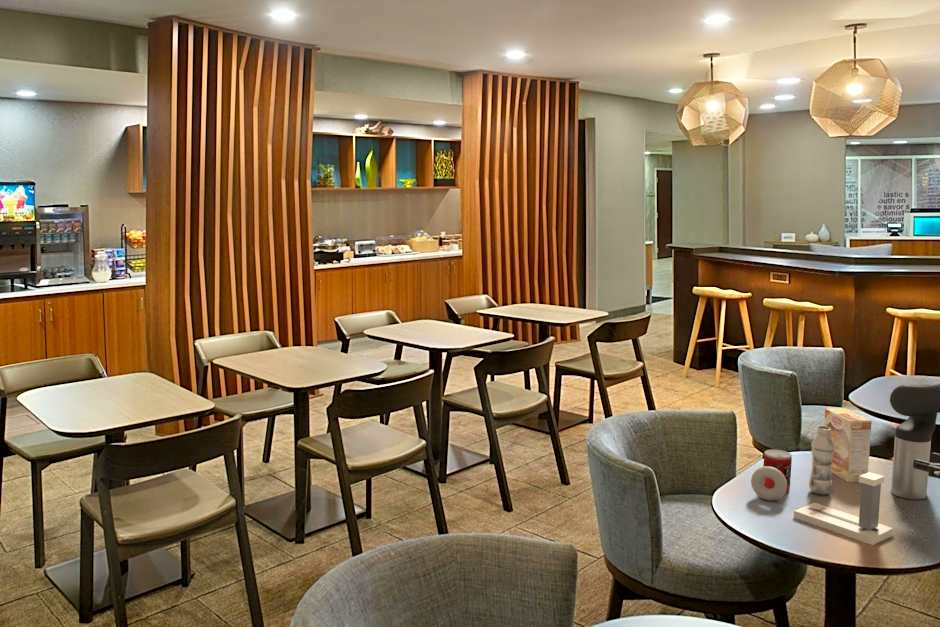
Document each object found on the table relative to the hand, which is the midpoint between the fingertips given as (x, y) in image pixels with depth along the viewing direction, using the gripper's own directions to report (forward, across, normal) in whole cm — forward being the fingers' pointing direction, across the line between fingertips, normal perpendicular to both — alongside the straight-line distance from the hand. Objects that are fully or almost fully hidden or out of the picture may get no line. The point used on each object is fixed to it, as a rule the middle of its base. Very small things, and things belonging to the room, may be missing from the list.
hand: (922, 460), depth 198 cm
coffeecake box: (+41, -40, +24) cm, 62 cm away
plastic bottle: (+36, -18, +24) cm, 47 cm away
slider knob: (+12, 0, +22) cm, 25 cm away
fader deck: (+19, 0, +24) cm, 30 cm away
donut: (+42, -1, +24) cm, 48 cm away
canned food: (+46, -11, +24) cm, 53 cm away
